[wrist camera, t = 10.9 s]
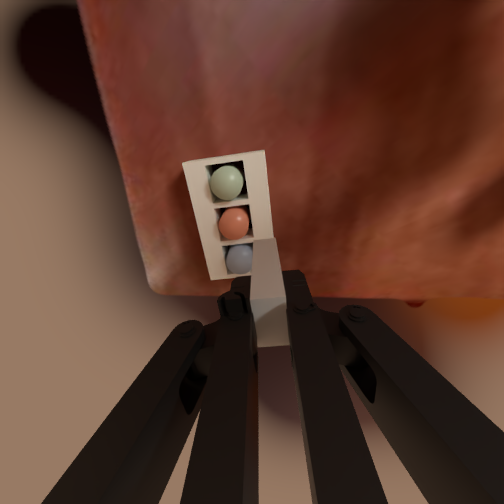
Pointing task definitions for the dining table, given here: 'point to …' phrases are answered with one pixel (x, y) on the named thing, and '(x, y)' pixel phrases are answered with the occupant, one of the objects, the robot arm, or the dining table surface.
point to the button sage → (227, 181)
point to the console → (210, 204)
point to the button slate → (240, 258)
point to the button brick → (234, 222)
